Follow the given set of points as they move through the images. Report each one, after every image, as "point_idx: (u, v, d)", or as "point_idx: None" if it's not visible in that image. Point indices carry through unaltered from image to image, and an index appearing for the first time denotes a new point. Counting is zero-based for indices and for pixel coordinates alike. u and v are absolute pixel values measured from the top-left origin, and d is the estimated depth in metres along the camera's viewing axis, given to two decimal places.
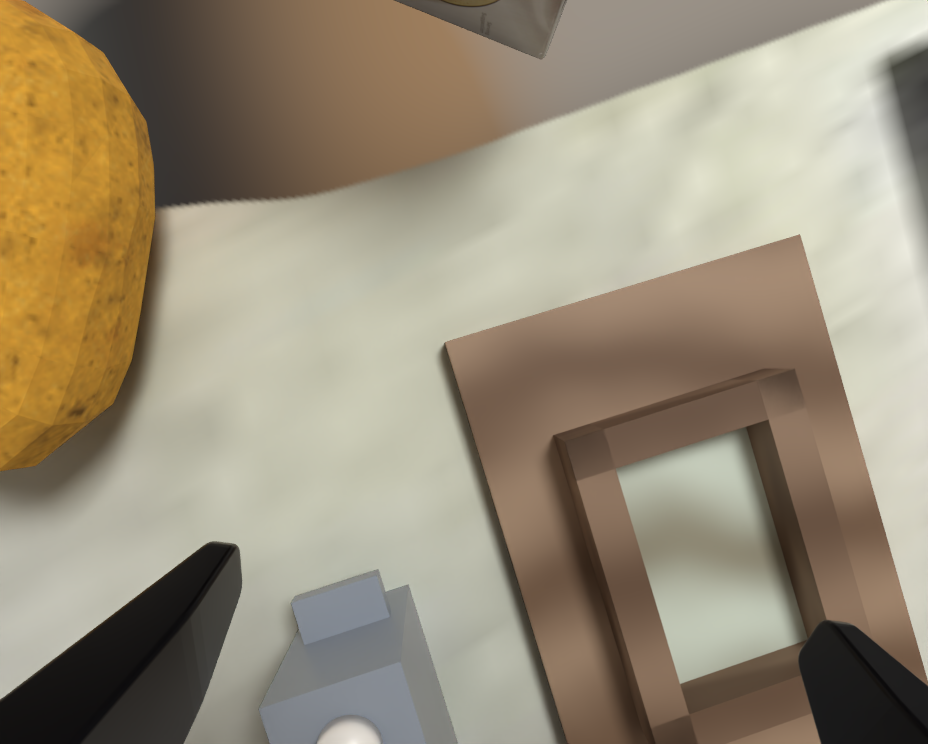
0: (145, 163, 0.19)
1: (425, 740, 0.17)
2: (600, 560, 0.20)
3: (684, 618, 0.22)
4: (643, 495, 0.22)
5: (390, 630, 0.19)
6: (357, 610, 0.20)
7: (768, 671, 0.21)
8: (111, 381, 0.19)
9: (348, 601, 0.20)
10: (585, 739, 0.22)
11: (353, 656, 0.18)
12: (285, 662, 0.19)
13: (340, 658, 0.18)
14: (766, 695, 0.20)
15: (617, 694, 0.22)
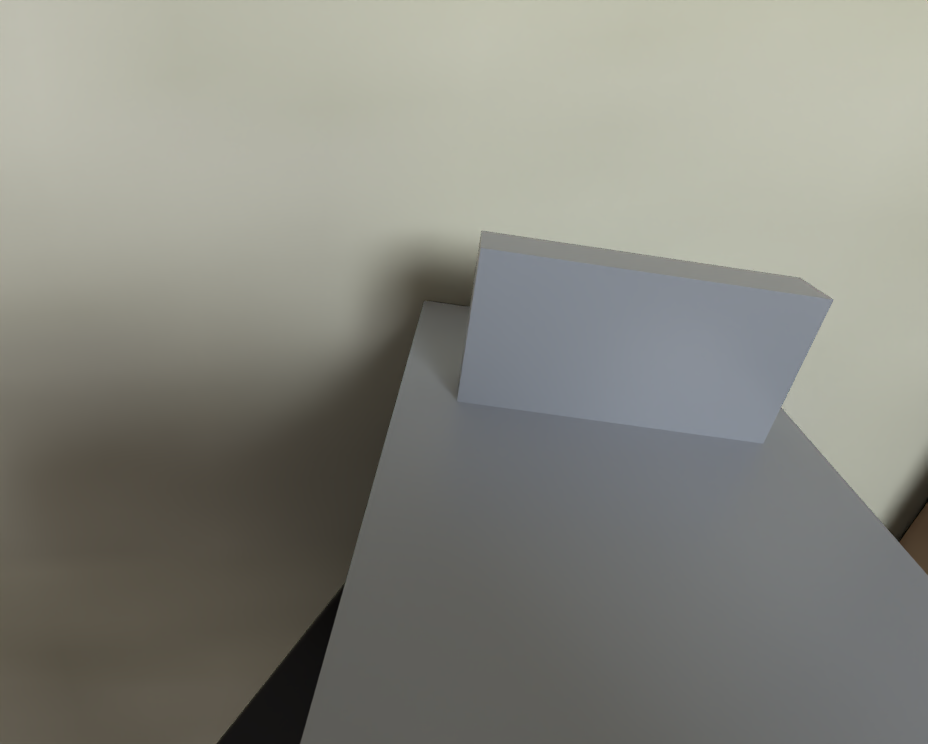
0: None
1: None
2: None
3: None
4: None
5: (831, 521, 0.05)
6: (683, 381, 0.05)
7: None
8: None
9: (675, 339, 0.05)
10: None
11: (742, 595, 0.04)
12: (398, 447, 0.05)
13: (673, 571, 0.04)
14: None
15: None
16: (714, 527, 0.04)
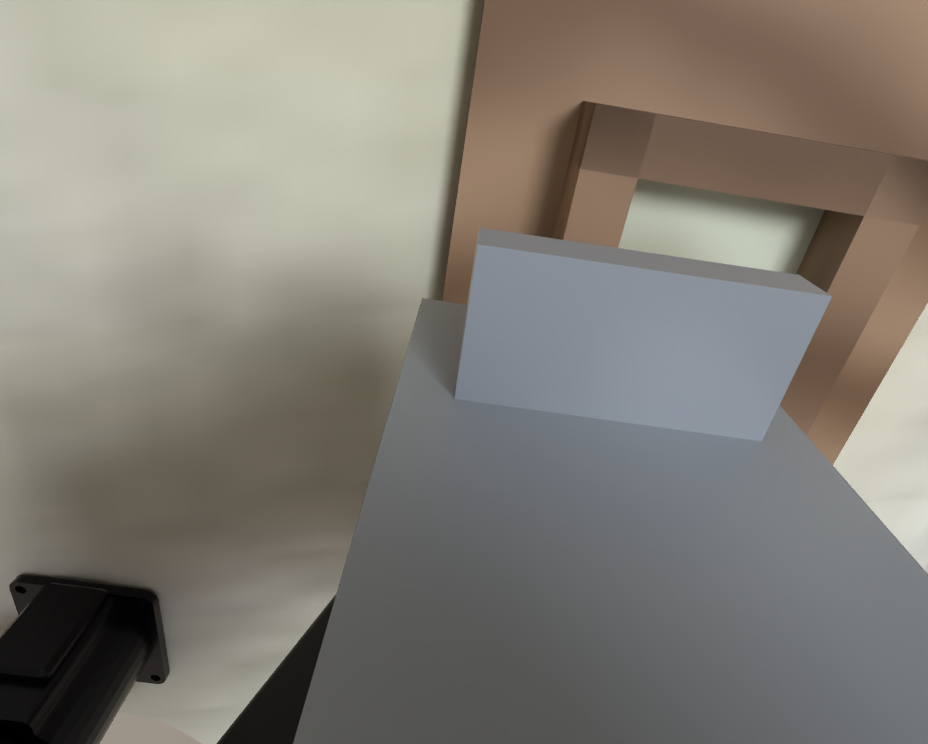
0: None
1: None
2: None
3: None
4: (645, 239, 0.16)
5: (830, 518, 0.05)
6: (681, 378, 0.05)
7: None
8: None
9: (674, 336, 0.05)
10: None
11: (741, 592, 0.04)
12: (396, 443, 0.05)
13: (670, 568, 0.04)
14: None
15: None
16: (712, 524, 0.04)
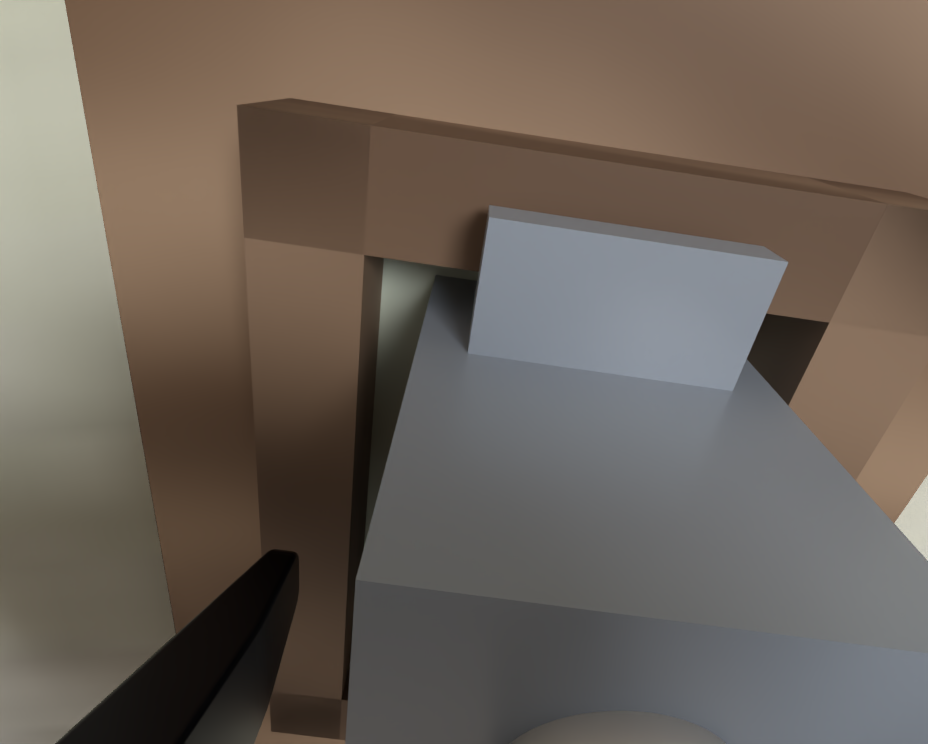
0: None
1: None
2: (257, 434, 0.08)
3: None
4: None
5: (784, 447, 0.06)
6: (662, 335, 0.06)
7: None
8: None
9: (655, 297, 0.06)
10: None
11: (703, 493, 0.05)
12: (420, 384, 0.06)
13: (647, 477, 0.05)
14: None
15: None
16: (684, 448, 0.05)
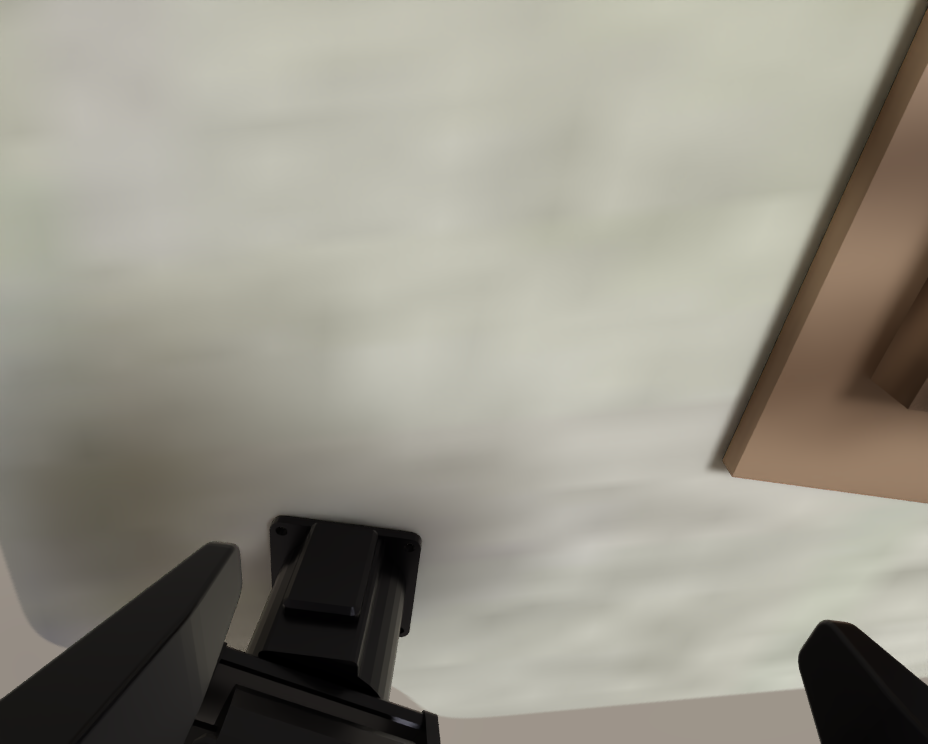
0: None
1: None
2: None
3: None
4: None
5: None
6: None
7: None
8: None
9: None
10: (810, 357, 0.18)
11: None
12: None
13: None
14: None
15: (881, 328, 0.18)
16: None
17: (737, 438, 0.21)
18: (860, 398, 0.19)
